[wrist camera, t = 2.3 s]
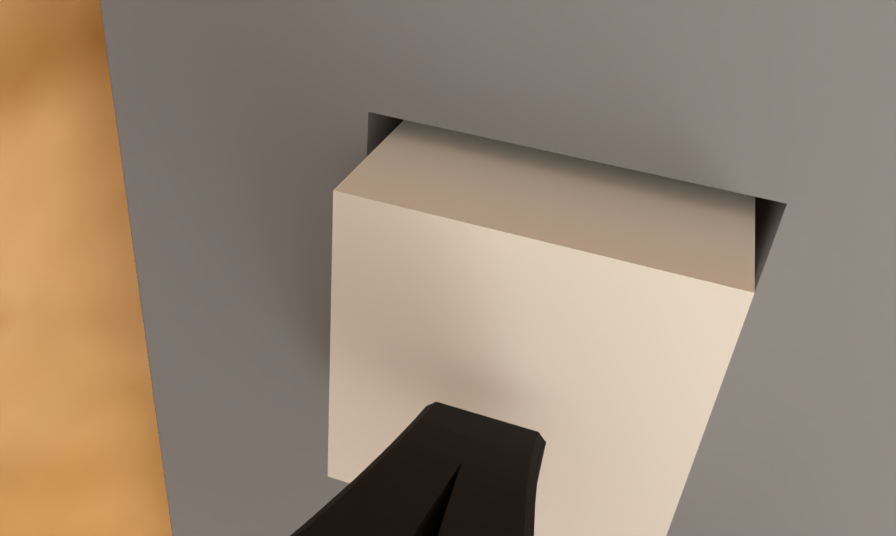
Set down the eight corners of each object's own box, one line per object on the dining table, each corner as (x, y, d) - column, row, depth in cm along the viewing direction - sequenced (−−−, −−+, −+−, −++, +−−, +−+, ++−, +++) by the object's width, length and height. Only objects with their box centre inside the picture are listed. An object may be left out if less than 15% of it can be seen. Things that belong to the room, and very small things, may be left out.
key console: (255, 668, 26) (203, 761, 24) (202, -198, 13) (73, -190, 10) (702, 840, 23) (695, 967, 21) (1219, -55, 10) (1369, 1, 8)
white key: (396, 362, 15) (327, 476, 13) (416, 107, 12) (332, 190, 10) (668, 439, 14) (649, 580, 12) (755, 180, 11) (753, 292, 9)
